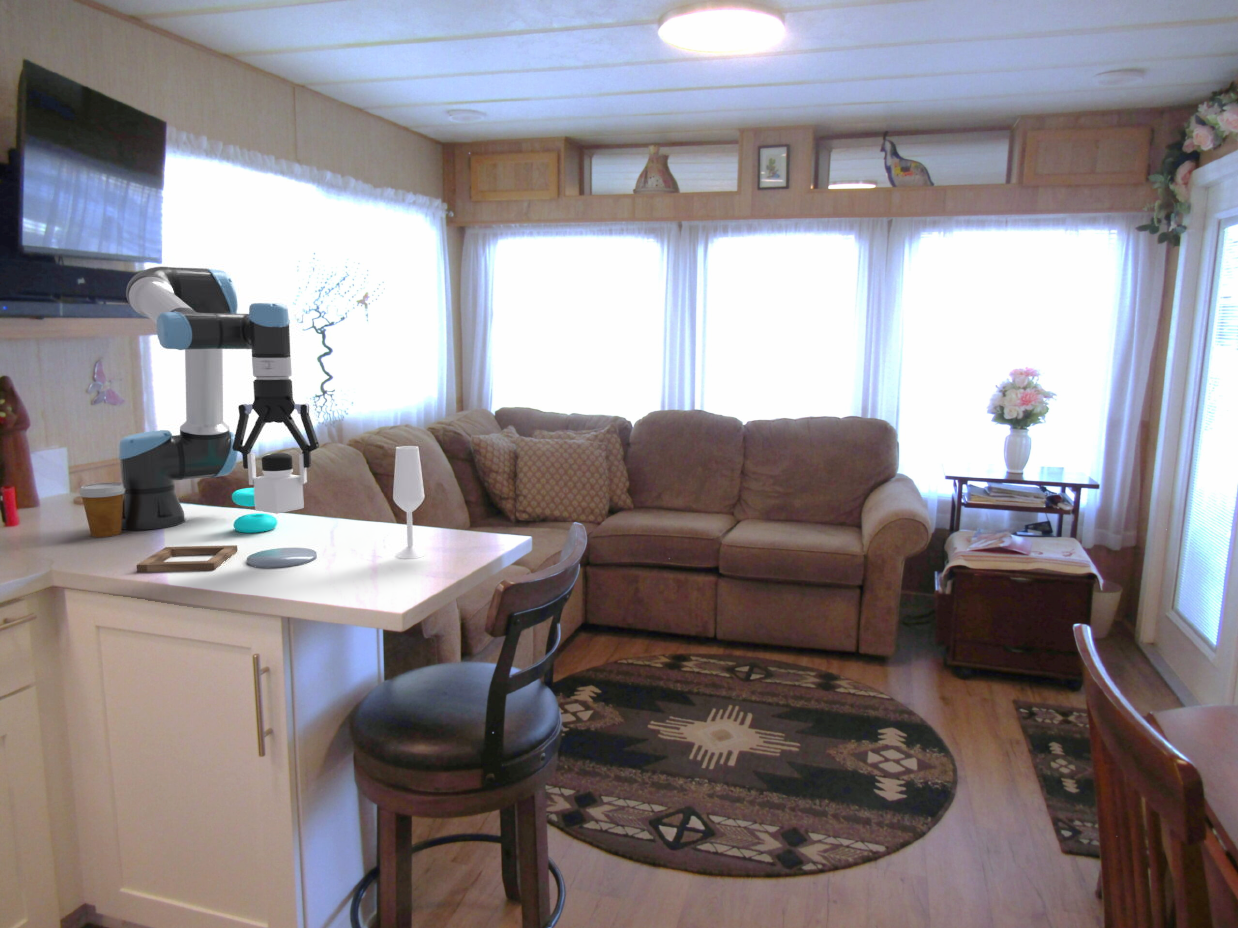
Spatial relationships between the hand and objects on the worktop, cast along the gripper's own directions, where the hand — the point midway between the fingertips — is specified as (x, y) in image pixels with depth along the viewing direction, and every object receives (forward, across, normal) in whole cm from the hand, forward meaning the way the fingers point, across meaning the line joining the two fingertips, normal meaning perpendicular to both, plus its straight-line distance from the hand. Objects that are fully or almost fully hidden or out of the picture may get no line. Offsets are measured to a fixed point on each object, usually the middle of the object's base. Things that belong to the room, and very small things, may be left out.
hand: (278, 483), depth 180 cm
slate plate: (+17, 0, 0) cm, 17 cm away
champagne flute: (+17, +27, +1) cm, 32 cm away
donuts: (+17, -14, +30) cm, 37 cm away
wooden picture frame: (+17, -19, 0) cm, 25 cm away
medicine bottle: (+6, 0, 0) cm, 6 cm away
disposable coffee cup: (+17, -48, +28) cm, 58 cm away
